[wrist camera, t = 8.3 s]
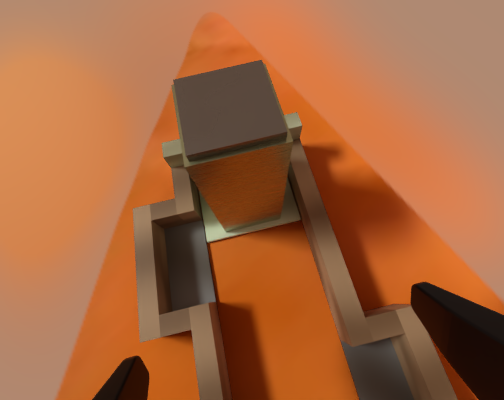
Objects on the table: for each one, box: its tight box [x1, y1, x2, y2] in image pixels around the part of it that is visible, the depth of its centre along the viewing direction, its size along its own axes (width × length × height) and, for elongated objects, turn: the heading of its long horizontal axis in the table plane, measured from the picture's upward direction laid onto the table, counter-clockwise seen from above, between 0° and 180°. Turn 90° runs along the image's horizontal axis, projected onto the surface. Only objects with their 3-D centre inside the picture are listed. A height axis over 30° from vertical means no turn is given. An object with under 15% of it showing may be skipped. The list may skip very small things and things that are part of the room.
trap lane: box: [133, 112, 458, 400], centre depth 15 cm, size 22×16×4 cm
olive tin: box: [172, 60, 293, 232], centre depth 15 cm, size 4×4×10 cm
